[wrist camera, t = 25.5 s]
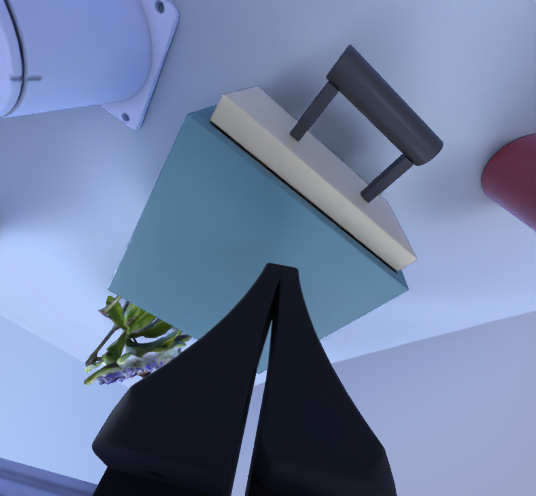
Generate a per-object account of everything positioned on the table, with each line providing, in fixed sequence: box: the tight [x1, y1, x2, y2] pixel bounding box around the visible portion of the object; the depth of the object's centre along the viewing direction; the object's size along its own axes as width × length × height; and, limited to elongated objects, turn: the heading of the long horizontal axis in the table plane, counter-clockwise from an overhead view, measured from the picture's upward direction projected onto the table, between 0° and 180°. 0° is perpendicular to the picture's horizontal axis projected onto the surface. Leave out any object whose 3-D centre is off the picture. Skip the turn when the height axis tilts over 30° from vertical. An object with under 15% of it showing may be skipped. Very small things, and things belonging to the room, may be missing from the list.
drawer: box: [210, 45, 443, 271], centre depth 16 cm, size 16×12×7 cm
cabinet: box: [108, 104, 409, 374], centre depth 18 cm, size 13×13×8 cm
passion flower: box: [84, 296, 192, 385], centre depth 29 cm, size 11×11×12 cm
